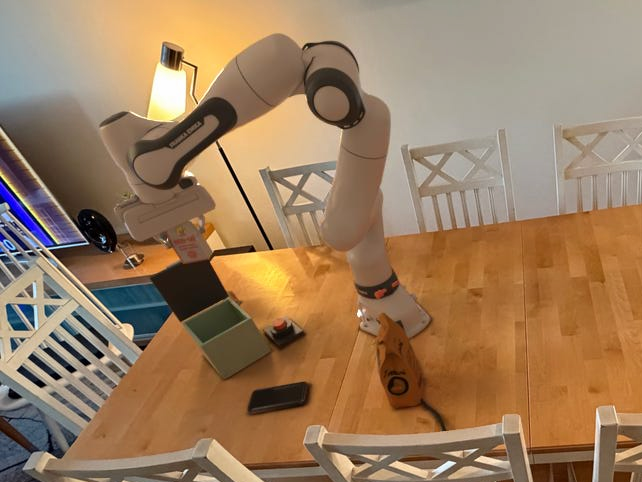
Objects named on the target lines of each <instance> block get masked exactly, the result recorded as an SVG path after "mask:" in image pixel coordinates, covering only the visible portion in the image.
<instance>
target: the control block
mask: <svg viewBox="0 0 642 482" xmlns="http://www.w3.org/2000/svg"><path fill="white" fill-rule="evenodd" d="M282 319H284V320H285V322H286V324H287V325H286V327H285V328H283V329H282V330H275V328H274V327H273V323H271V324H270V325H269V326H267V327H264V328H263V329H262V331H263V333H264V334H265V335H266V336H267V337H268V338H269V339H270V340H271V341H272V342H273V343H274V344H275V345H276V346H278V347H279V349H280V350H283V349H284V348H285V347H287V346H288V345H291V344H292V343H294V342H295V341H297V340H299V339H300V338H302V337H303V336H305V333H304V330H303V329H301V328H300V327H299V326H298V325H297V324H295V323H294V322H293V321H292V320H291V319H290V318H288V317H287V316H284V317H282Z"/></svg>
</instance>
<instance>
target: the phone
mask: <svg viewBox="0 0 642 482" xmlns="http://www.w3.org/2000/svg"><path fill="white" fill-rule="evenodd" d="M307 382H308V381H299V382H298V381H297V382H292V383H287V384H286V383H285V384H281V385H275V386H274V385H273V386H269V387H263V388H258V389H255V390H253V391H252V393H251V395H250V398H249V402H248V404H247V408H246V410H247V412H249V414H250V415H254V414H259V413H265V412H273V411H278V410H282V409H289V408H294V407H300V406H303V405H305V403H306V401H307V397H308V396H307V395H308V391H309V384H308V383H307Z"/></svg>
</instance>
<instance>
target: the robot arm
mask: <svg viewBox="0 0 642 482" xmlns="http://www.w3.org/2000/svg"><path fill="white" fill-rule="evenodd" d="M360 77H361V76H360V66H359V63H358V60H357V57H356V56H355V55H354V53H353V51H352V50H351V49H350V48H349V47H348V46H347V45H345V44H344V43H342V42H340V41H336V40H323V41H318V42H317V41H316V42H306V43H304V44H303V46H302V47H301V46H300V45H299V44H298V43H297V42H296V41H295V40H294V39H293V38H291V37H290V36H289V35H286V34H284V33H280V32H275V33H272V34H269V35H267V36H265V37H263V38H261V39H259V40H257V41H255V42H254V43H252V44H250V45H249V46H247V47H246V48H244V49H243V50H242V51H240V52H239V53H238V54H236V55H235V56H234V57H233V58H231V59H230V61H229V62H228V63H227V64H226V65H225V66H224V67H223V68H222V69H221V71H220V72H219V73H218V74H217V76H216V77H215V79H214V80H213V81H212V83H211V84H210V86H209V87H208V89H207V90H206V92H205V93H204V95H203V97H202V98H201V99H200V100H199V102H198V104H197V105H196V106H195V107H194V108H193V110H192V111H190V112H189V114H188V115H187V116H185V117H184V118H183V119H182V120H180V121H175V120H159V119H157V120H156V119H151V118H147V117H143V116H140V115H138V114H136V113H134V112H133V111H130V110H122V111H119V112H117V113H114V114H112V115H111V116H109V117H107V118H105V119H104V120H103V121H101V123H100V124H99V125H98V133H99V136H100V138H101V141H102V143H103V144H104V147H105V149H106V150H107V152H108V154H109V156H110V157H111V159H112V160H113V162H114V163H115V165H116V166H117V167H118V168H119V169H120V170H121V171H122V172H123V174H124V176H125V179H126V181H127V183H128V185H129V186H130V188H131V189H132V191H133V193H134V194H135V195H134V196H132V197H130V198H127V199H126V200H123V201H119V202H117V203H116V205H115V207H114V208H113V213H114V216H115V217H116V218H117V220H118V221H119V222H120V223H123V224H124V226H125V228H126V229H127V231H128V233H129V235H130V236H131V237H132V239H133V240H134V241H137V242H143V241H146V240H148V239H151V238H153V239H154V241H156V242H158V243H160V244H162V245H163V247H164V249H166V250H167V251H169V250H171V249H173V248H172V247H173V246H172V245H171V243H170V241H169V239H165V240H164V239H162V237H161V235H160V234H162V233H164V232H165V231H167V230H169V229H171V228H173V227H176V226H178V225H180V224H182V223H185V222H187V221H191V220H194V219H196V218H197V219H198V225H195V227H196V228H198V229H199V230H200V231H201V234H203V235H204V234H205V233H207V232H208V229H207V228H206V227H205V225H206V223H205V222H206V217H205V215H206V213H209V212H212V211H214V210H216V202H215V200H214V199H213V197H212V195H211V194H210V192H209V191H208V190H207V188H206V187H204V186H203V184H200V183H199V181H198V179H197V177H196V175H194V174H193V173H191V172H189V169H191V167H192V166H193V165H194V163H195V162H196V161H197V160H198V158H199V156H200V155H201V154H202V153H203V152H205V151H206V150H207V149H208V148H210V147H211V146H212V145H213V144H215V143H216V142H217V141H219V140H220V139H221V138H223V137H225V136H227V135H229V134H230V133H233V132H234V131H236V130H238V129H240V128H242V127H244V126H246V125H248V124H250V123H252V122H254V121H256V120H258V119H260V118H262V117H264V116H265V115H267V114H269V113H270V112H272V111H274V110H275V109H276V108H278V107H279V106H280V105H282V104H283V103H284V102H285V101H287V100H288V99H290V98H292V97H294V96H299V95H304V96H305V101H306V104H307V107H308V109H309V110H310V112H311V114H312V115H313V116H314V117H315V118H317V119H318V120H320V121H321V122H322V123H324V124H327V125H331V126H333V127H337V128H338V129H341V130H340V137H339V144H338V154H337V159H336V167H335V172H334V176H333V180H332V183H331V186H330V189H329V193H328V197H327V201H326V203H325V204H326V205H325V208H324V213H323V215H322V218H321V220H320V224H319V227H318V232H319V237H320V238H321V240H322V242H323V243H324V244H325V245H326V246H327V247H328V248H330V249H331V250H334V251H336V252H340V253H346V261H347V263H348V266H349V269H350V272H351V274H352V277H353V283H354V284H353V285H354V288H355V290H356V292H357V294H358V298H357V303H356V304H357V308H358V311H357V317H358V318H360V319H361V321H360V324H359V328H360V330H362V331H364V332H366V333H368V334H371V335H373V336H376V337H377V335H378V332H379V329H380V327H381V323H380V321H379V318H378V317H379V315H380V314H381V313H385V314H386V315H387V316H389V317H390V318H391V319H392V320H394V321H395V322H396V323H397V324H399V325H400V326H401V327H402V328H403V330H404V331H405V333H406V335H407V337H408V339H409V340H410V339H411V338H413V337H414V336H416V335H417V334H419V333H420V332H422V331H423V330H424V329H426V327H427V326H428V325H429V324H430V322H431V317H430V315H429V314H428V313H427V312H426V311H425V310H424V309H423V307H421V306H420V305H419V304H418V303H417V302H416V301H417V300H418V297H417V295H416V294H415V293H414V292H412V293H409V291H408V288H407V285H402V283H401V282H400V280H399V278H398V275H397V273H396V271H395V270H394V269H393V267H392V265H391V262H390V258H389V255H388V251H387V246H386V239H385V228H384V217H383V208H384V194H383V191H382V189H381V185H382V183H383V178H384V173H385V168H386V163H387V158H388V153H389V148H390V142H391V141H390V139H391V129H392V128H391V126H392V121H391V120H392V117H391V111H390V108H389V107H388V105H387V103H385V102H384V101H383V100H382V99H381V98H379V97H378V96H375V95H372V94H368V93H367V92H365V91H364V90H363V88H362V84H361V78H360ZM420 402H421V403H420V404H421V405H422V406H423V407H424V408H425V409H427V411H429V412H430V413H432V414H433V415H434V417H435V418H436V419H437V421H438V422H439V425H440V428H441V431H442V432H443V431H447V428H446V425H445V422H444V420H443V418H442V417H441V415H440V414H439V412H438V411H437V410H436V409H434V408H433V407H432V406H431V405H429V404H428V403H427V402H426V401H425V400H424V398H423V397H422V398H421V400H420Z"/></svg>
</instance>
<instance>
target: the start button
mask: <svg viewBox="0 0 642 482" xmlns="http://www.w3.org/2000/svg"><path fill="white" fill-rule="evenodd" d="M272 324H273V327H274V328H275V330H282V329H283V328H285V327H286V325H287V324H286V322H285V320H284V319H283V318H277V319H275V320H274V321H272Z"/></svg>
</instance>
